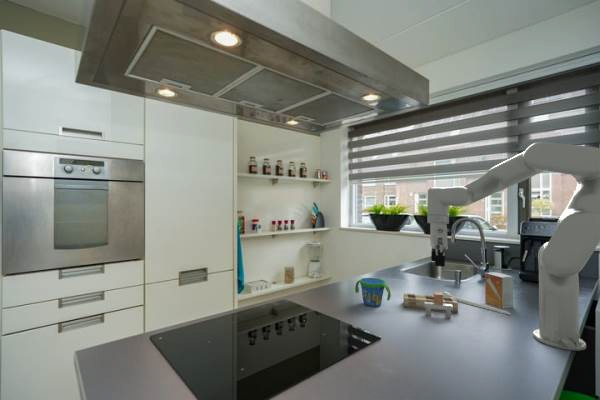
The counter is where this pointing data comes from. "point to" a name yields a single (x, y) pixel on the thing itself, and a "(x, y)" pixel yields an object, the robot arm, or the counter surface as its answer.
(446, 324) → the counter surface
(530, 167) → the robot arm
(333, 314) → the counter surface
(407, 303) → the rail
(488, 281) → the small box
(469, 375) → the counter surface
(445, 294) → the spatula
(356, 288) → the snack cup
